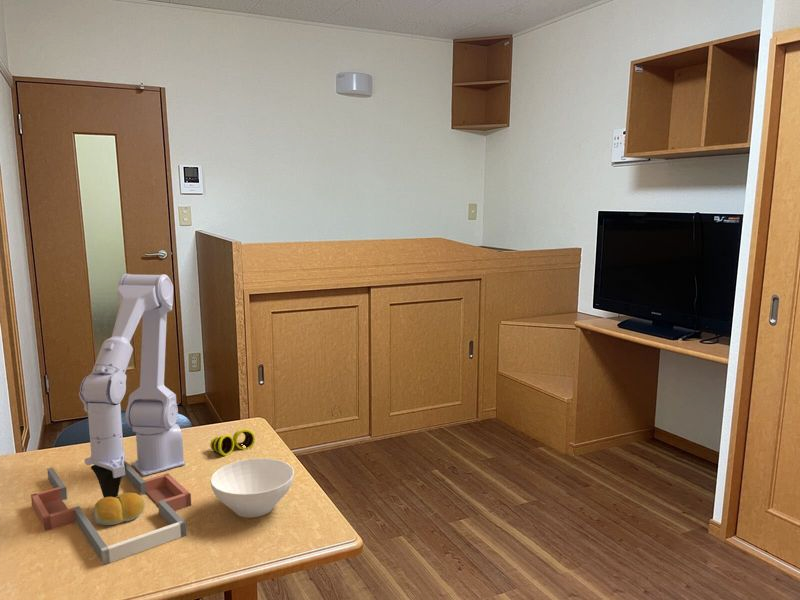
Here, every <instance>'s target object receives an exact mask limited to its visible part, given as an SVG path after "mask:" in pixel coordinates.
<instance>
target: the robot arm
mask: <svg viewBox="0 0 800 600" xmlns="http://www.w3.org/2000/svg"><path fill="white" fill-rule="evenodd" d="M116 291H117V297H118V301H119V302H120V304H119V308H118V312H117V316H116V319H115V323H114V327H113V330H112V334H111V337H109V338H107V339H105V340H104V341H103V343H102V345H101V347H100V349H99V352H98V355H97V357H96V361H95V364H94V365H93V369H92V371H91V373H90V374H88V375H87V376H85V377H84V378H83V379H82V381H81V384H80V387H79V392H78V396H79V400H80V401H81V402H82V403H83V407H84V409H83V410H84V411H85V413H87V417H88V431H89V443H90V454H91V455H90V456H89V457H87V458H84V463H85V465H87V466H90V469H91V470H92V471H93V473H94V475H95V477H96V478H97V482H98V483H99V484H98V485H99V487H100V491H101V494H102V496H103V497H102V498H104V497H116V496H118V495H119V491H120V486H121V481H122V479H123V477H125V476H124V475H125V470H126V465H125V463H124V460H125V458H126V452H125V450H124V439H123V438H124V437H123V421H122V408H121V402H122V400H123V399H124V396H125V395H126V391H127V377H128V376H127V374H126V371H127V368H128V366H129V363H130V360H131V357H132V353H133V352H134V348H133V346H132V345H131V340H132V338H133V337H134V336H133V335H134V334H135V332H136V329H137V327H138V325H139V324H140V321H141V319H142V327H141V328H142V330H141V349H140V350H141V352H140V377H139V387H138V388H137V389H135V390H134V391H133V392H131V393H130V394H129V395H128V403H127V406H126V410H125V417H124V418H125V422H126V424H127V425H128V427H130V428H132V432H133V433H135V439H136V440H135V441H136V457H137V460H136V461H133V462H132V463H131V465H132V467H133V468H134V469H135V470H137V471H138V472H139V473H140V475H142V476H143V477H145V476H149V475H152V474H156V473H159V472H163V471H166V470H169V469H174V468H177V467H180V466H184V465H186V462H185V460H184V459H185V458H184V440H183V439H184V438H183V433H182V430H181V429H182V428H180V426H179V424H178V423H176V422H177V419H178V417H179V415H178V413H179V409H178V403H177V394H176V393H175V392H173V391H172V390H170V388H168V387H167V386H165V372H166V371H165V370H166V347H167V345H166V342H167V341H166V339H167V321H168V319H167V318H168V313H170V312H172V311H173V303H174V284H173V283H172V280H171V278H170V277H169V276H168V275H167V274H164V273H163V274H132V273H131V274H130V273H124V274H122V276H121V277H120V278H119V281H118V283H117V289H116Z"/></svg>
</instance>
